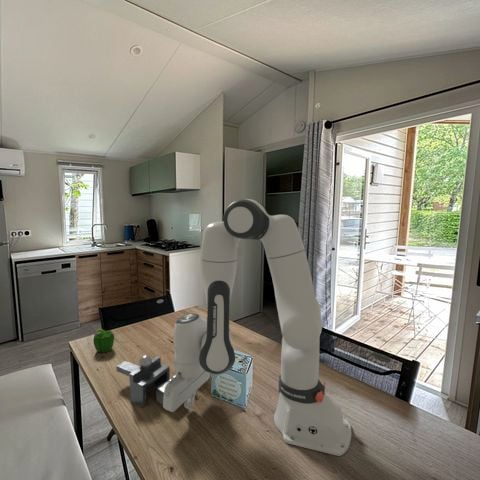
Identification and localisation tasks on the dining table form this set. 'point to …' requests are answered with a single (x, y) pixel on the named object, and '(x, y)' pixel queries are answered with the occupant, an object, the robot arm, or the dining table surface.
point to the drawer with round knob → (144, 377)
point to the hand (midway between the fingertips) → (189, 405)
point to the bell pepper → (103, 340)
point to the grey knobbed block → (160, 392)
